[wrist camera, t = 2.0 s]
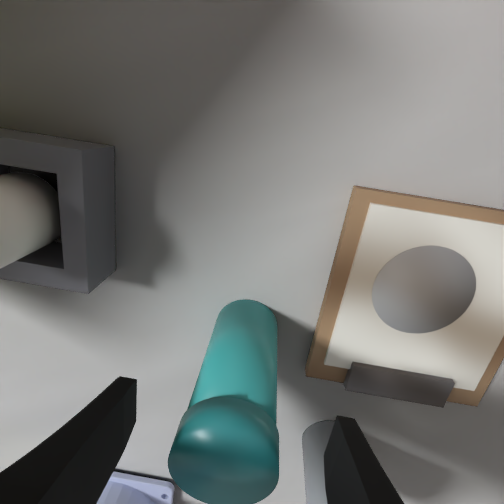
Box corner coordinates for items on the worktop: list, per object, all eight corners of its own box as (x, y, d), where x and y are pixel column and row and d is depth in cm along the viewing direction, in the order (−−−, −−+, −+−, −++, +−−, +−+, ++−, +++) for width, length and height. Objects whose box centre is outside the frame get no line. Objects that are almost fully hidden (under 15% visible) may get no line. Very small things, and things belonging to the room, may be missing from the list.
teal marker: (273, 357, 17) (268, 515, 10) (211, 346, 17) (165, 495, 10) (285, 304, 16) (288, 441, 9) (218, 292, 16) (170, 420, 9)
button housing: (115, 269, 16) (88, 293, 14) (0, 250, 16) (-46, 270, 14) (114, 146, 14) (81, 150, 12) (-20, 124, 14) (-78, 124, 12)
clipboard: (470, 397, 17) (482, 414, 16) (305, 368, 17) (306, 383, 16) (565, 219, 14) (588, 227, 13) (353, 185, 14) (359, 190, 13)
